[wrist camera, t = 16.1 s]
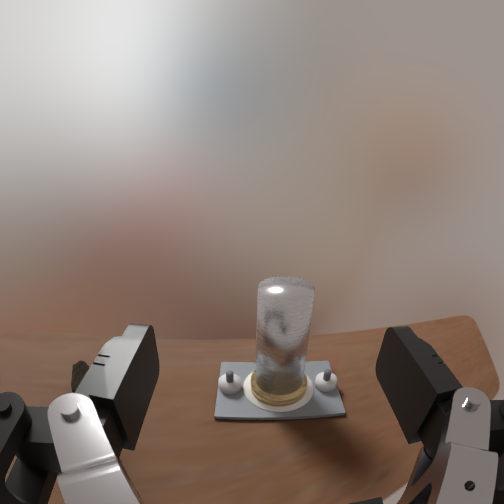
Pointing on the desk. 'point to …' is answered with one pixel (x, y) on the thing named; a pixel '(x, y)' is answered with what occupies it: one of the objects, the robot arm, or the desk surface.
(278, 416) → the board
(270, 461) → the desk surface
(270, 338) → the clear glass cylinder
